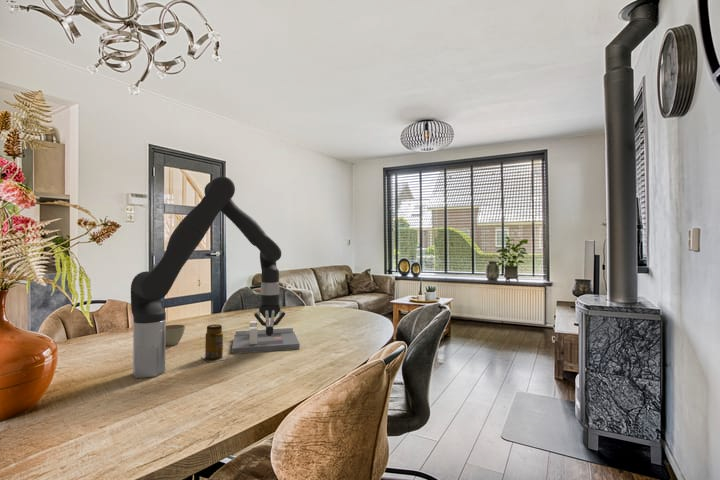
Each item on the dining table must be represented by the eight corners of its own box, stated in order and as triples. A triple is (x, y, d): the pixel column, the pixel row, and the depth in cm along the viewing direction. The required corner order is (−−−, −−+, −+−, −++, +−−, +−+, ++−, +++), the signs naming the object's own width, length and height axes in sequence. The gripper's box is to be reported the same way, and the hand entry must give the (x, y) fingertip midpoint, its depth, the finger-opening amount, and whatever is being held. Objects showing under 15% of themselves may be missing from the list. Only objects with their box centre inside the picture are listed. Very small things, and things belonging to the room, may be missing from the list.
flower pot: (177, 347, 152) (177, 329, 152) (153, 347, 152) (153, 329, 152) (189, 340, 162) (189, 324, 162) (166, 340, 162) (166, 324, 162)
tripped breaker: (257, 343, 150) (257, 329, 150) (249, 344, 149) (249, 329, 149) (257, 341, 154) (257, 326, 154) (249, 341, 153) (249, 327, 153)
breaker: (256, 336, 161) (257, 322, 161) (249, 337, 160) (249, 323, 160) (256, 334, 165) (256, 320, 165) (249, 334, 164) (249, 321, 164)
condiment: (220, 353, 144) (220, 322, 144) (228, 359, 138) (228, 326, 138) (200, 357, 140) (200, 325, 140) (207, 363, 133) (208, 329, 133)
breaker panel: (299, 348, 151) (299, 338, 151) (231, 353, 144) (232, 343, 144) (293, 335, 173) (293, 326, 173) (234, 339, 165) (234, 330, 165)
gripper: (253, 294, 148) (252, 338, 147) (287, 294, 151) (286, 336, 151) (253, 292, 155) (252, 334, 155) (285, 291, 159) (285, 332, 158)
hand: (269, 335), depth 153 cm, fingers closed
